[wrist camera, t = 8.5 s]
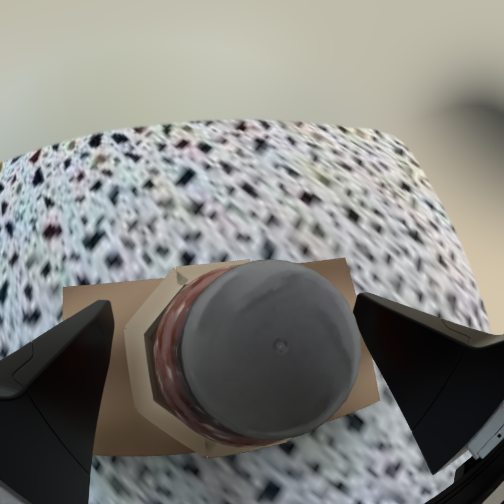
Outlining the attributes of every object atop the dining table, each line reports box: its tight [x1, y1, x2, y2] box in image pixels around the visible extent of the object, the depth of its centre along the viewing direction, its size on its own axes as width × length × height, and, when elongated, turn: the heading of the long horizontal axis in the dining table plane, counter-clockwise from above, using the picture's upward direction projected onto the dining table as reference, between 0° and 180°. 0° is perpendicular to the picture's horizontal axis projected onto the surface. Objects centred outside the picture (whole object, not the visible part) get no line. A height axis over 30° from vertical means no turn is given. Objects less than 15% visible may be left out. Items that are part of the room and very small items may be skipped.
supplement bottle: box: [153, 259, 361, 448], centre depth 10 cm, size 6×6×11 cm
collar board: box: [63, 258, 380, 458], centre depth 15 cm, size 11×20×4 cm, turn 101°
